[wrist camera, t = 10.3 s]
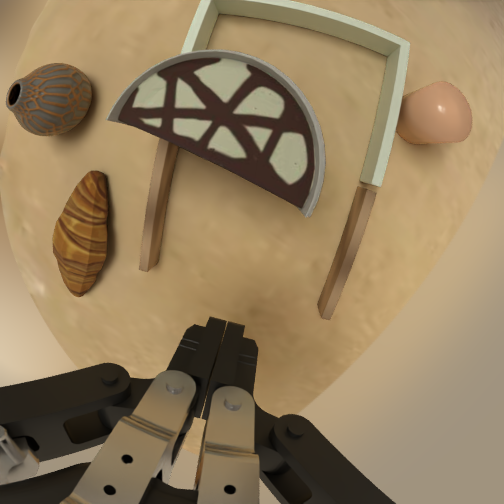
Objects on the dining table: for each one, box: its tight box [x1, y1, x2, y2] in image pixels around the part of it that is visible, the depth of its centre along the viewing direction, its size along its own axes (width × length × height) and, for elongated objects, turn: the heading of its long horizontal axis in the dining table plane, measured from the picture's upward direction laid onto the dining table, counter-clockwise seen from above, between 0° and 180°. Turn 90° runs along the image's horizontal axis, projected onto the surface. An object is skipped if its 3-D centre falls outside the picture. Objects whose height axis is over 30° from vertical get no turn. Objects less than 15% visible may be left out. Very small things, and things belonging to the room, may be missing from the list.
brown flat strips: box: [139, 138, 376, 320], centre depth 22 cm, size 11×17×2 cm, turn 76°
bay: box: [181, 0, 410, 187], centre depth 18 cm, size 13×17×3 cm
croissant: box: [53, 171, 109, 297], centre depth 22 cm, size 14×7×5 cm, turn 158°
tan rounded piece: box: [396, 81, 472, 144], centre depth 16 cm, size 4×4×6 cm
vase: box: [6, 63, 92, 136], centre depth 16 cm, size 7×7×9 cm
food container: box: [106, 50, 326, 218], centre depth 16 cm, size 12×6×10 cm, turn 62°
